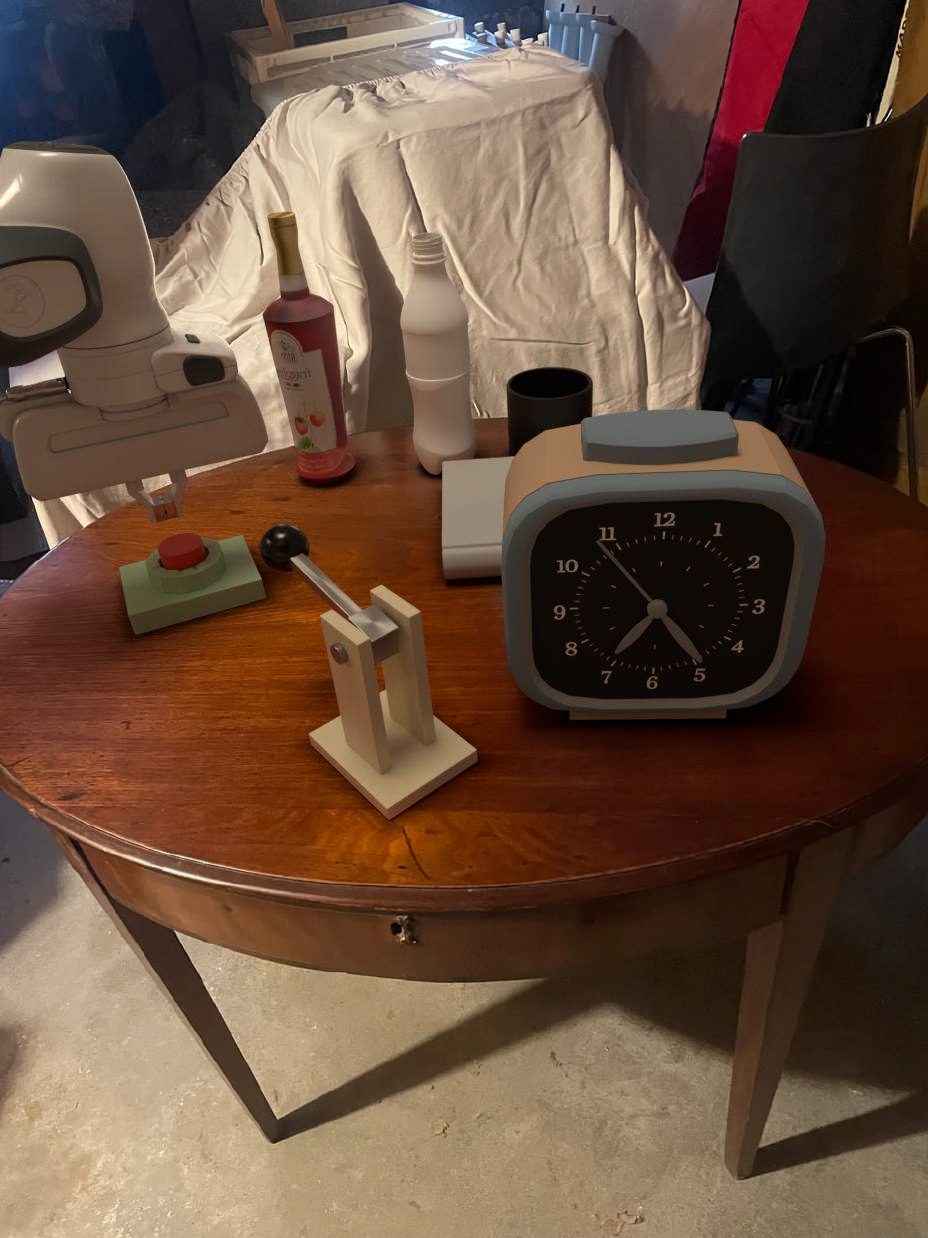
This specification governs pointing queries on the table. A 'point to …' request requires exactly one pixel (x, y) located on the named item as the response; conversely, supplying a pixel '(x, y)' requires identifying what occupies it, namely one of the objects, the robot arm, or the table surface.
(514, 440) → the mug
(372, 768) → the bracket
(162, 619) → the button box
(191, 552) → the button
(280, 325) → the liquor
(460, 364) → the water bottle
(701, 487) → the alarm clock
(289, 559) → the lever
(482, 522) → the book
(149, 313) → the robot arm
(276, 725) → the table surface
